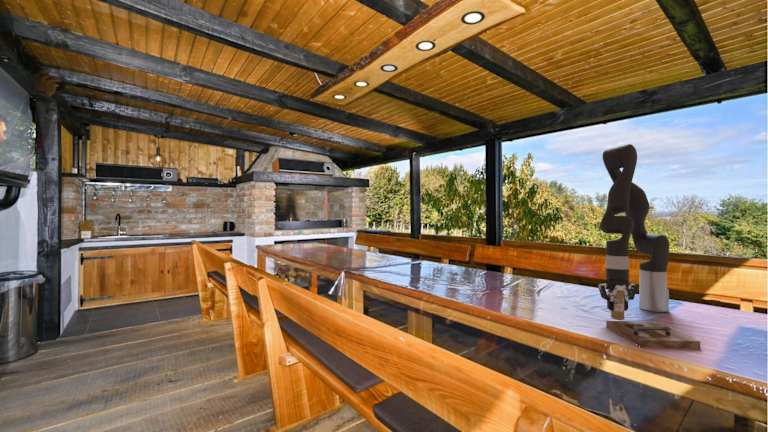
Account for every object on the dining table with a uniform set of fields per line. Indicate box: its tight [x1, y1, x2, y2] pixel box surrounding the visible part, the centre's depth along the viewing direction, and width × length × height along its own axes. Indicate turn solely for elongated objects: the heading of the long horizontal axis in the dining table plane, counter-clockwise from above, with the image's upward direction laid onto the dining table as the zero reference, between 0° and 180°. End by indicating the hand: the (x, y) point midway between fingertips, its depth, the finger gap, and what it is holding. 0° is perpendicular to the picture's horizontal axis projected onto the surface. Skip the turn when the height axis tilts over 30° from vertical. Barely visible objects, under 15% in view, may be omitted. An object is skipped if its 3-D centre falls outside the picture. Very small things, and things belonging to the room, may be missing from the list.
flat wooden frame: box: [606, 320, 701, 350], centre depth 112 cm, size 18×18×2 cm
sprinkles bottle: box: [610, 285, 625, 321], centre depth 127 cm, size 5×5×13 cm
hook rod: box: [633, 325, 672, 336], centre depth 108 cm, size 11×1×3 cm, turn 85°
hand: (617, 310), depth 127 cm, fingers closed on sprinkles bottle, 4 cm apart
